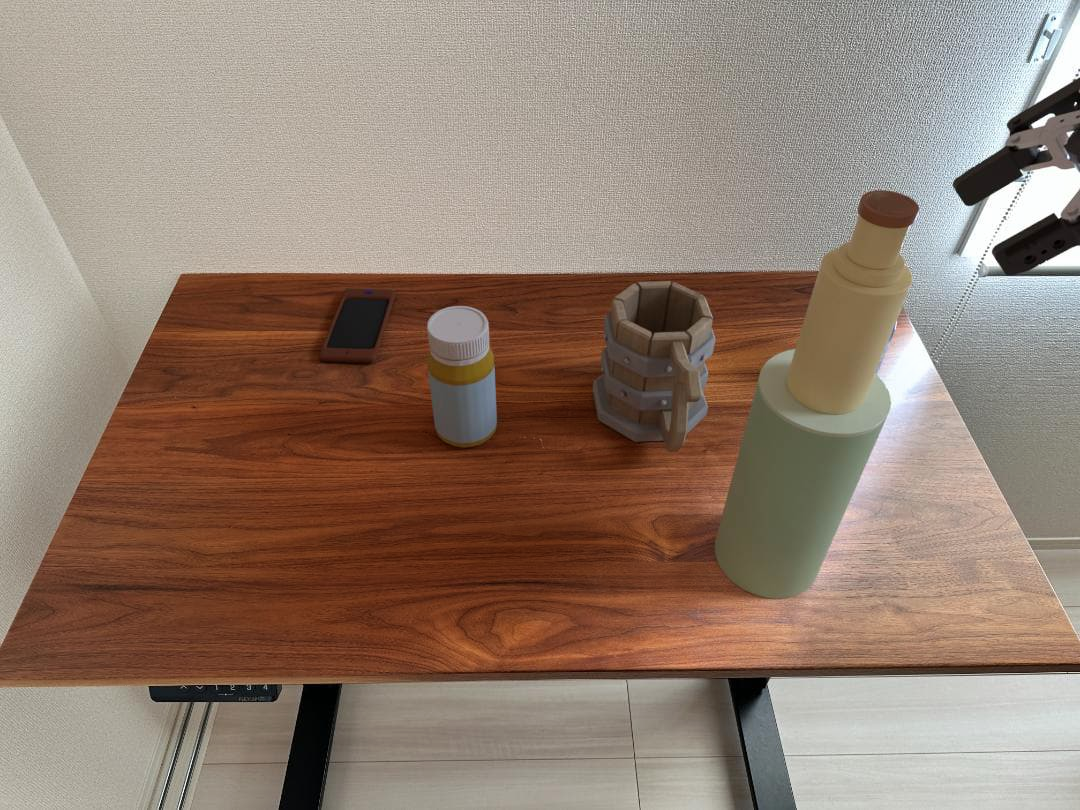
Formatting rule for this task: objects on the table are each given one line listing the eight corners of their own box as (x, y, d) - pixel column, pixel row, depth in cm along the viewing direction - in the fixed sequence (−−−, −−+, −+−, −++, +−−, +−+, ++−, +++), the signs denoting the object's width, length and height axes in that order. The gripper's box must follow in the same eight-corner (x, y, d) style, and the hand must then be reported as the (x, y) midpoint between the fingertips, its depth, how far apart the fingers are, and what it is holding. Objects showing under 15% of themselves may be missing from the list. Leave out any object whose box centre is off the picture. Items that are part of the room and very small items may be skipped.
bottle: (459, 400, 91) (449, 295, 81) (508, 421, 89) (505, 316, 78) (423, 436, 87) (408, 330, 77) (474, 459, 84) (466, 354, 74)
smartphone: (395, 288, 106) (373, 358, 95) (396, 294, 107) (374, 364, 96) (344, 287, 106) (316, 356, 95) (345, 292, 107) (318, 362, 96)
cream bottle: (870, 376, 61) (944, 193, 50) (858, 424, 58) (934, 236, 47) (795, 355, 63) (850, 173, 52) (778, 399, 59) (833, 213, 48)
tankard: (588, 371, 95) (595, 268, 85) (689, 366, 96) (708, 264, 86) (611, 495, 81) (623, 390, 71) (729, 489, 82) (758, 384, 71)
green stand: (827, 535, 77) (899, 369, 62) (806, 615, 71) (880, 450, 56) (730, 501, 80) (776, 335, 65) (701, 574, 74) (744, 408, 59)
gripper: (1192, -42, 45) (921, 139, 53) (1355, 41, 34) (985, 248, 43) (1232, 56, 48) (970, 212, 57) (1392, 160, 38) (1042, 330, 46)
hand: (977, 227), depth 50 cm, fingers open, 8 cm apart
